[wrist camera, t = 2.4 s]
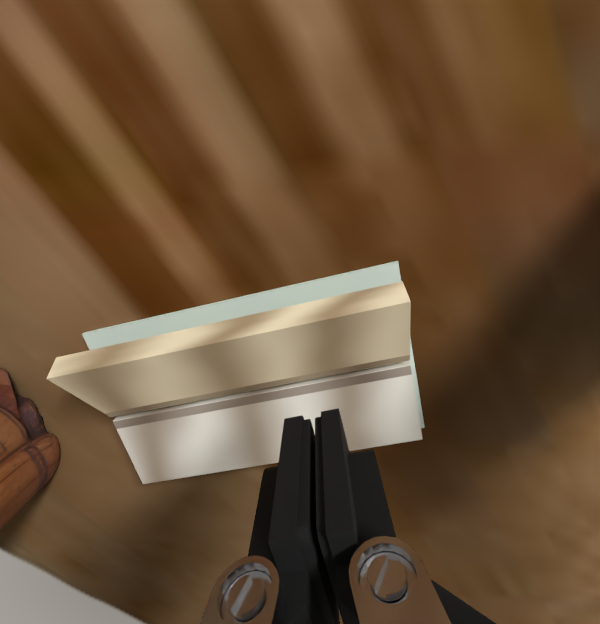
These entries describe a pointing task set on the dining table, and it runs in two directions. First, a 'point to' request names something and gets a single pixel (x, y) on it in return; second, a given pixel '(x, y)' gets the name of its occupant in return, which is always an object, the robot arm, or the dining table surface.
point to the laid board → (269, 422)
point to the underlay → (254, 309)
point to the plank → (243, 353)
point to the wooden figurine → (22, 451)
